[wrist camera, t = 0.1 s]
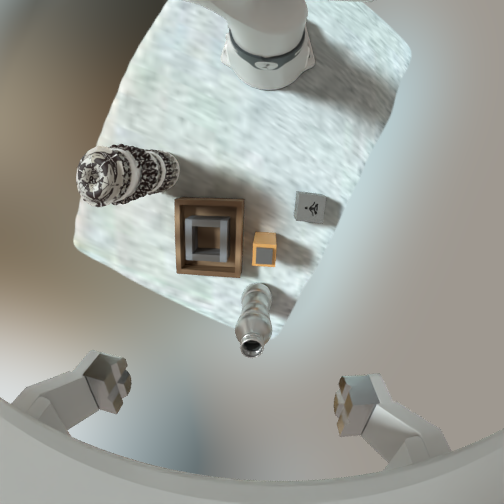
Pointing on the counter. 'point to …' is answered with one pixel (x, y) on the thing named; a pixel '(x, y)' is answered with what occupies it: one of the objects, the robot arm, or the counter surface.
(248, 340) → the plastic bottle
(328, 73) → the counter surface
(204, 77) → the counter surface
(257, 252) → the block
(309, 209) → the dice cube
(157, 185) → the decorative candle
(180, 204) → the walled box
